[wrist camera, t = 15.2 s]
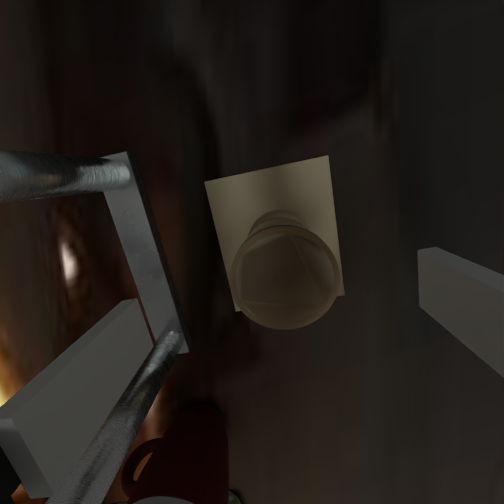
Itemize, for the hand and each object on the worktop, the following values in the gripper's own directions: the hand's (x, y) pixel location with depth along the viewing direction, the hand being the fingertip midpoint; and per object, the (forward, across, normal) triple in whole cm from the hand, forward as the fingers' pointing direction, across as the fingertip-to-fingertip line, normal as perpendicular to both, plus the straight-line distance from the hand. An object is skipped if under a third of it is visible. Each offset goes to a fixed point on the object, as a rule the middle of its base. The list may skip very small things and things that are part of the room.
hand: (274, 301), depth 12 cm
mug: (+12, -12, -19) cm, 26 cm away
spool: (+11, +1, 0) cm, 11 cm away
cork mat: (+12, +1, 0) cm, 12 cm away
